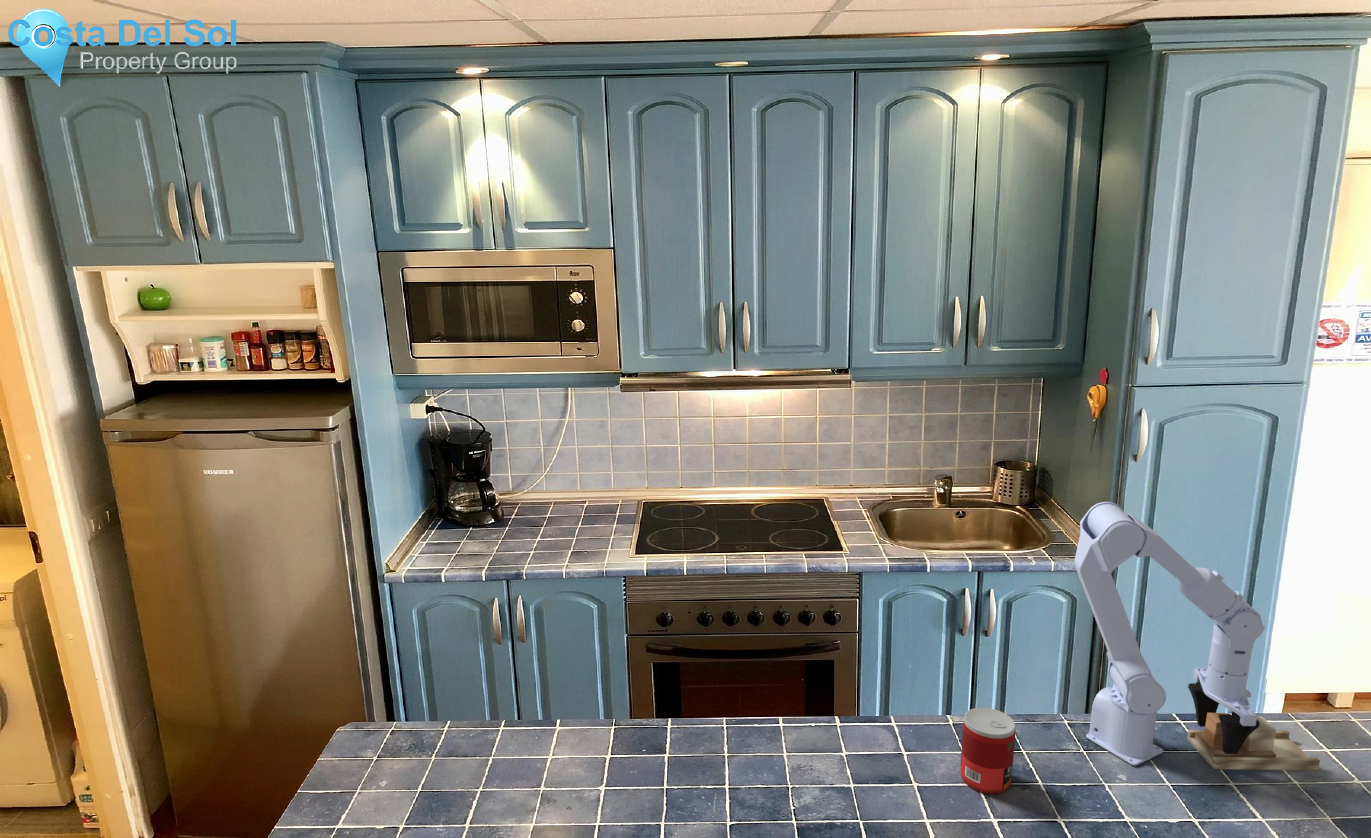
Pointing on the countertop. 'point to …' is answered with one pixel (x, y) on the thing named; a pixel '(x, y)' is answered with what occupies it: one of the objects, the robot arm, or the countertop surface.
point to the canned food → (987, 750)
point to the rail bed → (1285, 758)
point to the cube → (1261, 737)
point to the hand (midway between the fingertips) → (1217, 738)
